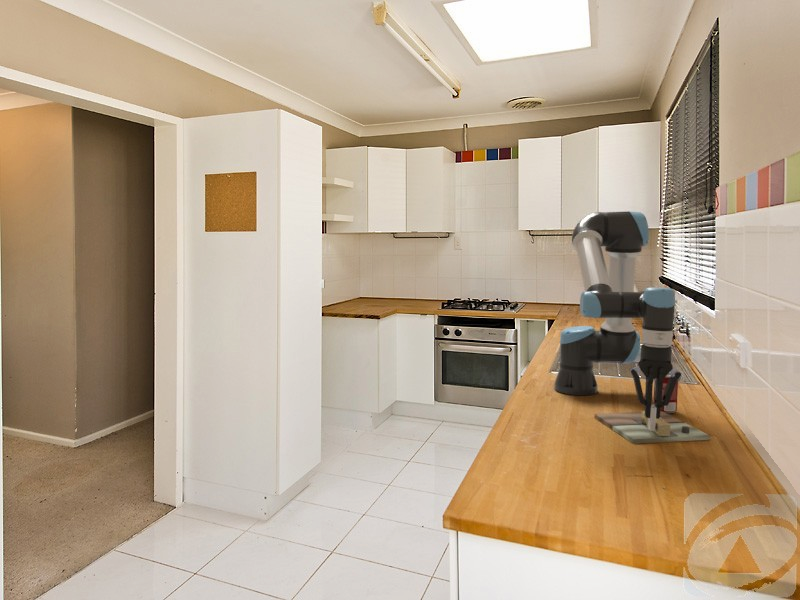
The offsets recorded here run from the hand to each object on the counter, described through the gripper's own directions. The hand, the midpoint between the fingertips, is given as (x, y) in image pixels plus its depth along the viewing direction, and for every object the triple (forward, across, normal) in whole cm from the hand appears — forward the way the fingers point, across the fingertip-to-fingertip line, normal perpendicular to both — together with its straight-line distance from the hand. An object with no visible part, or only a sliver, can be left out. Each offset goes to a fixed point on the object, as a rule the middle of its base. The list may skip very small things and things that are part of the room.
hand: (651, 429), depth 146 cm
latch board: (+2, +1, +8) cm, 9 cm away
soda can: (+3, +10, +26) cm, 28 cm away
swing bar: (+1, +2, +4) cm, 5 cm away
